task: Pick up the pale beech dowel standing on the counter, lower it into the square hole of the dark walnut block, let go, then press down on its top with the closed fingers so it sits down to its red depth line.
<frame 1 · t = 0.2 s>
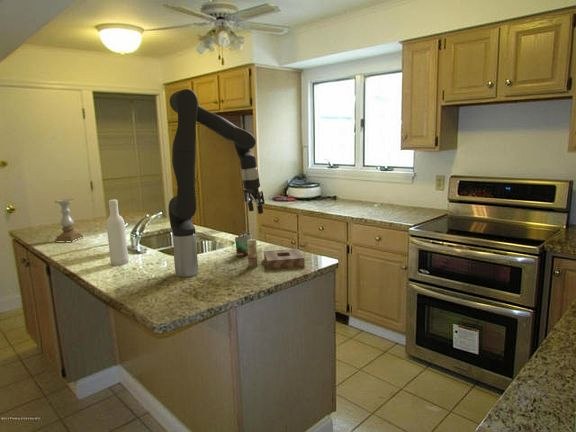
hand: (256, 212, 191), 22 cm above the worktop, fingers open, 8 cm apart
dowel: (253, 266, 182), on the worktop
candle holder: (69, 240, 245), on the worktop
socket block: (283, 262, 186), on the worktop
food container: (246, 254, 203), on the worktop
bottle: (119, 263, 194), on the worktop
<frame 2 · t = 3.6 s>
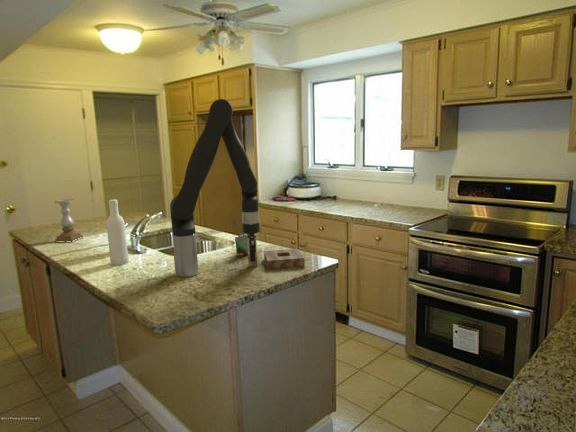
hand: (252, 259, 182), 3 cm above the worktop, fingers closed on dowel, 4 cm apart
dowel: (253, 266, 182), on the worktop, touching gripper
everything else where it was.
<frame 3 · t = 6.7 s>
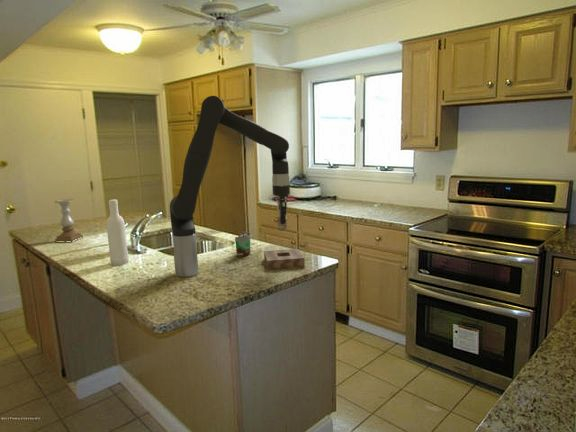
hand: (282, 222, 183), 19 cm above the worktop, fingers closed on dowel, 4 cm apart
dowel: (282, 229, 184), point 15 cm above the worktop, touching gripper
everything else where it was.
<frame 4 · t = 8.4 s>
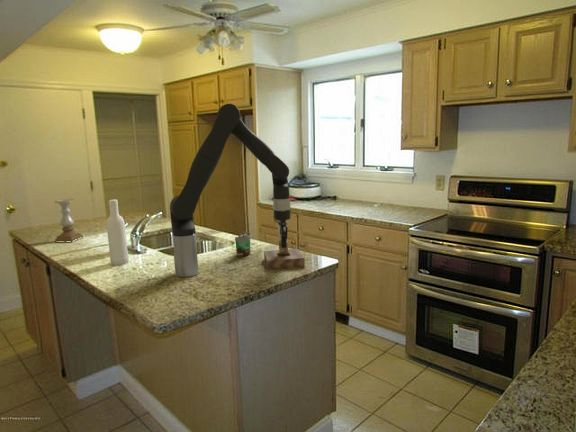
hand: (283, 246, 185), 8 cm above the worktop, fingers closed on dowel, 4 cm apart
dowel: (283, 253, 186), point 5 cm above the worktop, touching gripper
everything else where it was.
when the fingers open (5 cm above the worktop, at t = 9.8 s): dowel drops 2 cm, resting in socket block.
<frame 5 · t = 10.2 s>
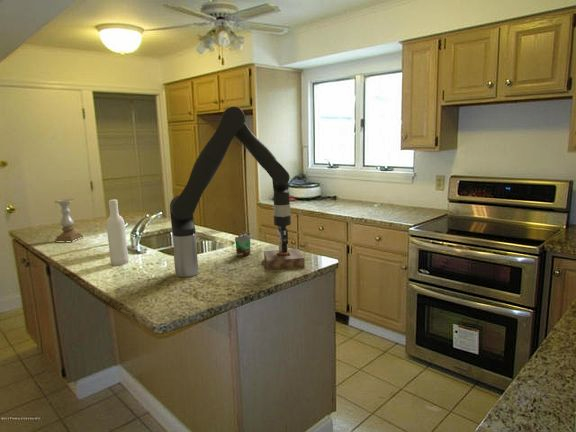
hand: (283, 250, 185), 6 cm above the worktop, fingers open, 8 cm apart
dowel: (283, 262, 186), resting in socket block
everything else where it was.
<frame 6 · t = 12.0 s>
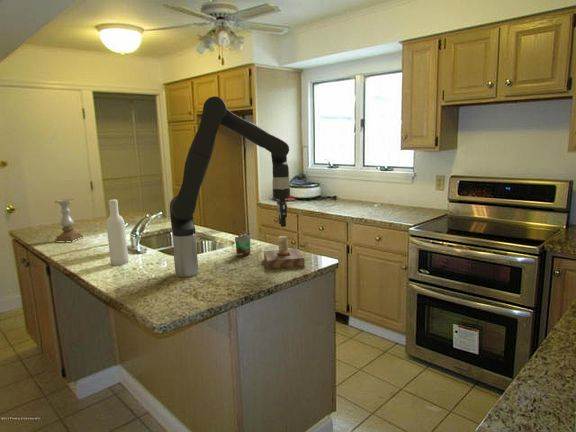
hand: (282, 225, 183), 17 cm above the worktop, fingers open, 5 cm apart
nothing on the worktop moved.
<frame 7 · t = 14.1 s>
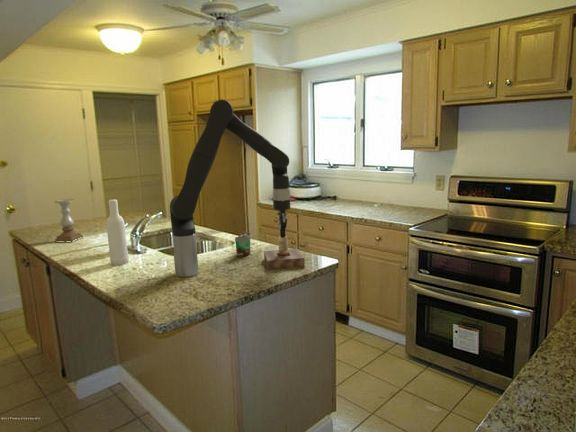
hand: (282, 237, 184), 12 cm above the worktop, fingers closed
nothing on the worktop moved.
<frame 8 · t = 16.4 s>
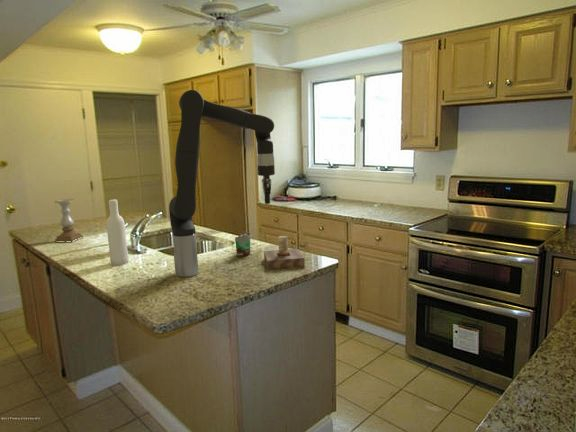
hand: (267, 203, 183), 27 cm above the worktop, fingers closed
nothing on the worktop moved.
at the end: dowel 0.1 cm off-centre on the socket block, point 0.0 cm above the socket block's base; dowel tilted 0°; the gripper is holding nothing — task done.
